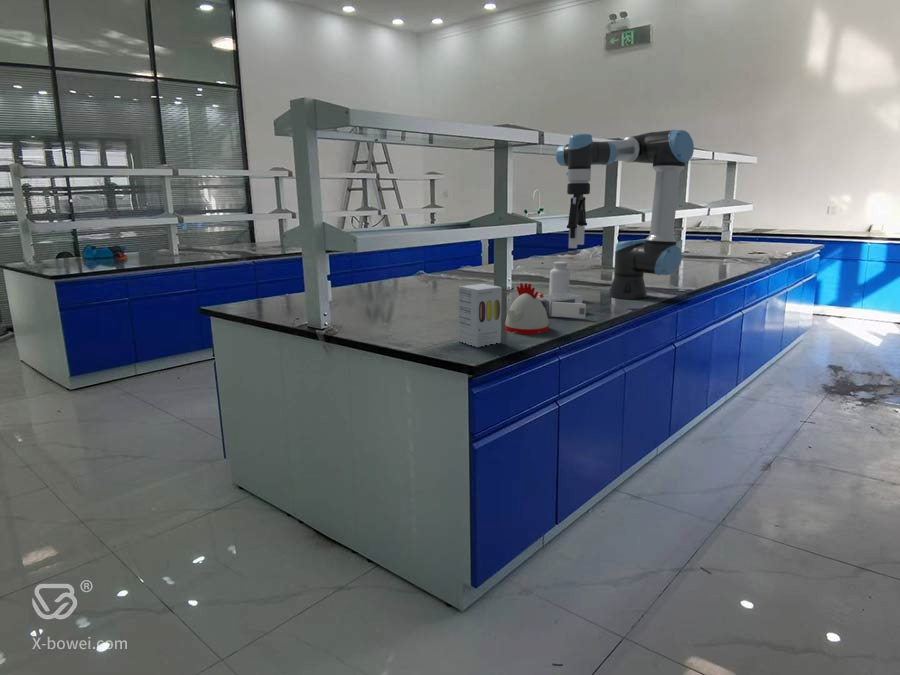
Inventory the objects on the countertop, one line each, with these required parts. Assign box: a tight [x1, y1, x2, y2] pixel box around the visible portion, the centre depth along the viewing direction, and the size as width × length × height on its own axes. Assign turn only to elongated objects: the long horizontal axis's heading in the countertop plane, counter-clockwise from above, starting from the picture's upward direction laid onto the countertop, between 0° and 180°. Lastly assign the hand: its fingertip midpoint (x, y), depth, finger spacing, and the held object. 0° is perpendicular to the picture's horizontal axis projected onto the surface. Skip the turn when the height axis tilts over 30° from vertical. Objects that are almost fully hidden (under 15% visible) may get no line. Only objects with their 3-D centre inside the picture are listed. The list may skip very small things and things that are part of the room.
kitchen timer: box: [504, 282, 550, 335], centre depth 194 cm, size 14×14×15 cm
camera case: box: [537, 292, 584, 318], centre depth 220 cm, size 19×10×7 cm, turn 118°
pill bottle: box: [548, 261, 571, 294], centre depth 246 cm, size 8×8×15 cm
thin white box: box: [548, 301, 587, 319], centre depth 210 cm, size 13×2×5 cm, turn 68°
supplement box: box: [458, 283, 503, 348], centre depth 177 cm, size 10×9×17 cm
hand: (576, 246), depth 209 cm, fingers open, 12 cm apart
